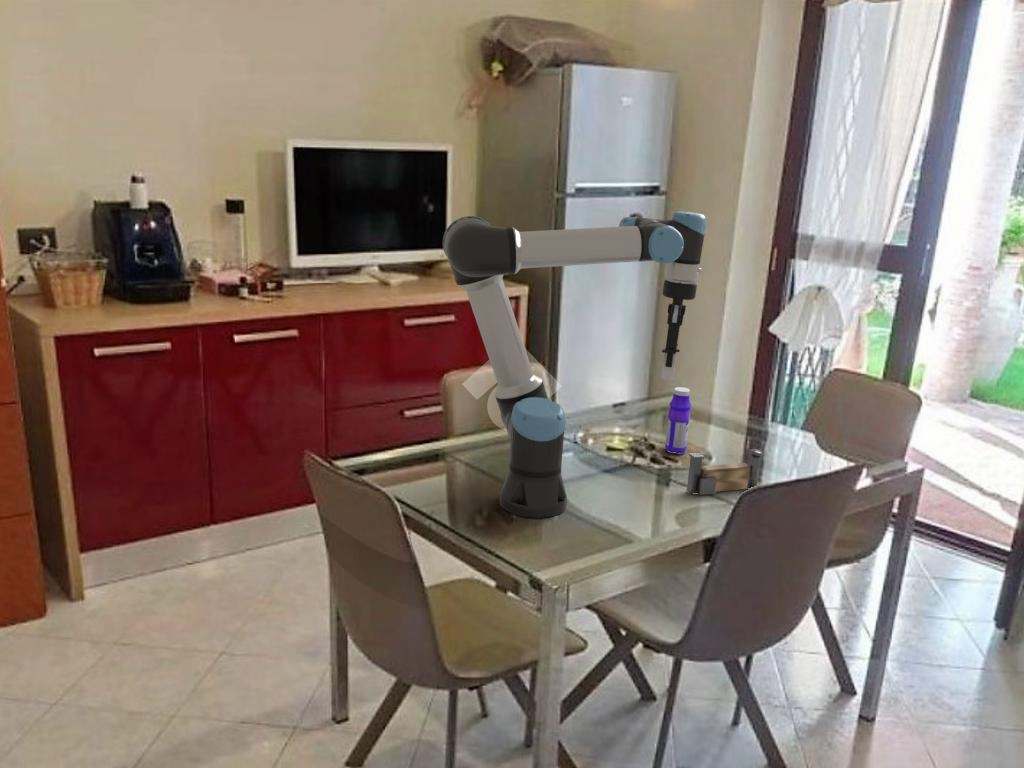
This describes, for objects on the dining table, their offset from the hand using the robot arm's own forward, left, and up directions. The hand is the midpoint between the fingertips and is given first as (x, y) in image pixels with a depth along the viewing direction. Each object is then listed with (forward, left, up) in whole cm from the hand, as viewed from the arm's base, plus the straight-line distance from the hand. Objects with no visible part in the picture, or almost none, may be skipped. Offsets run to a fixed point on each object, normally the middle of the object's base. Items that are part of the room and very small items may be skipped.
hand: (666, 379), depth 211 cm
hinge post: (+22, -8, -26) cm, 35 cm away
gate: (+13, -8, -26) cm, 30 cm away
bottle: (+15, +19, -26) cm, 35 cm away
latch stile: (+7, -9, -26) cm, 28 cm away
